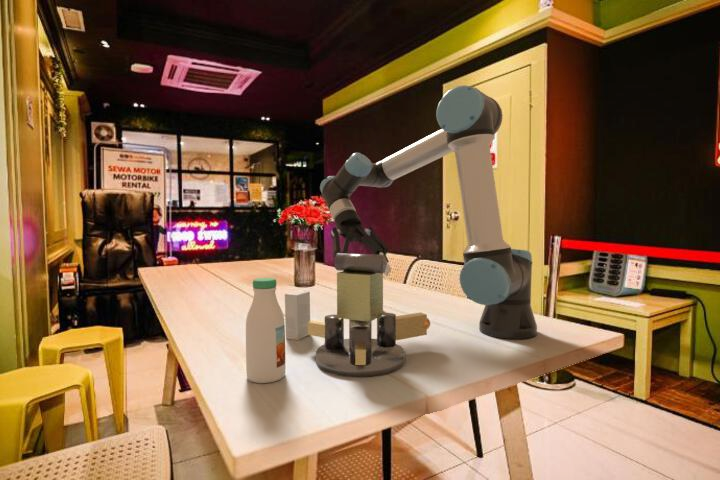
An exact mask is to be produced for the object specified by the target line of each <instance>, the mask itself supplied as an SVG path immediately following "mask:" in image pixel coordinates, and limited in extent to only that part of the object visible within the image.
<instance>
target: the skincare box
mask: <svg viewBox="0 0 720 480" xmlns="http://www.w3.org/2000/svg"><path fill="white" fill-rule="evenodd" d="M310 295H311V293H310V291H308V290H298V289H296V290H294V291H290V292H288V293H285V294H284V325H285V339H287V340H292V341H293V340H295V341H299V340H302V339H304V338H305V337H307V336H309V335H308V322H310V321H311V296H310Z"/></svg>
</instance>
